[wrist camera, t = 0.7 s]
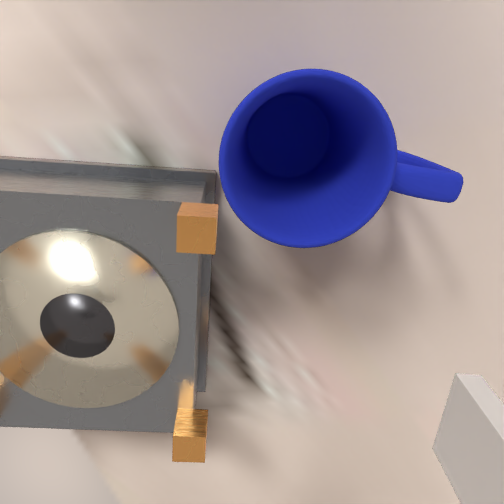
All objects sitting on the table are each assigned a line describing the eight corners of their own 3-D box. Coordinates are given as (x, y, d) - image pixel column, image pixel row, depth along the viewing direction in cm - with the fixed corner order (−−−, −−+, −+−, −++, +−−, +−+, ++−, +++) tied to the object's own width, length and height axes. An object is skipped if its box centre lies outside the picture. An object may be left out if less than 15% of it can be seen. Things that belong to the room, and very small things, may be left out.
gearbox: (-59, 152, 31) (-160, 182, 23) (221, 170, 32) (217, 206, 24) (-23, 375, 37) (-93, 460, 29) (210, 385, 38) (204, 469, 30)
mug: (385, 215, 33) (443, 274, 24) (214, 184, 32) (205, 233, 23) (422, 93, 30) (505, 106, 21) (235, 55, 29) (235, 50, 20)
